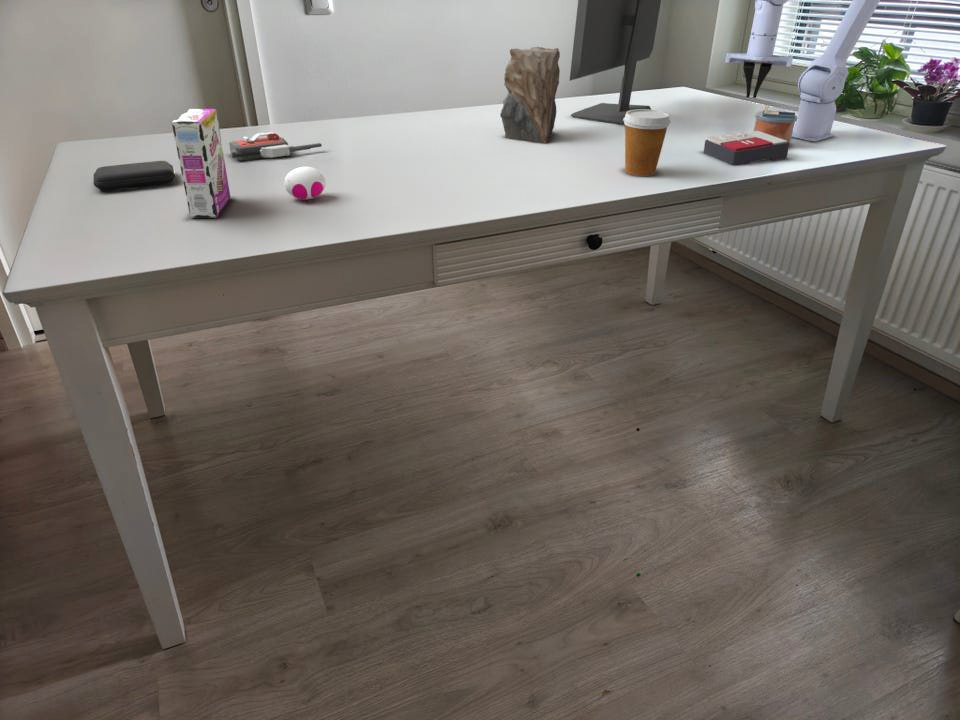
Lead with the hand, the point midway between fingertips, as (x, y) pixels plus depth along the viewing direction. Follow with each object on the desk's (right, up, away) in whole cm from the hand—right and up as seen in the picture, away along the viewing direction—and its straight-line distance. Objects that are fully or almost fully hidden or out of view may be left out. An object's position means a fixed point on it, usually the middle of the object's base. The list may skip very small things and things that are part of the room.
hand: (751, 97), depth 167 cm
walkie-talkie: (-111, -16, -8) cm, 113 cm away
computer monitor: (-28, +5, +28) cm, 40 cm away
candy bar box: (-113, -35, -40) cm, 125 cm away
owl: (-52, -8, +7) cm, 53 cm away
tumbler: (+6, -10, +3) cm, 12 cm away
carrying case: (-133, -27, -27) cm, 139 cm away
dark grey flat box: (-4, -16, -6) cm, 18 cm away
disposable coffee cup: (-31, -23, -18) cm, 42 cm away
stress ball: (-97, -33, -35) cm, 108 cm away
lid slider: (+5, -4, 0) cm, 6 cm away
